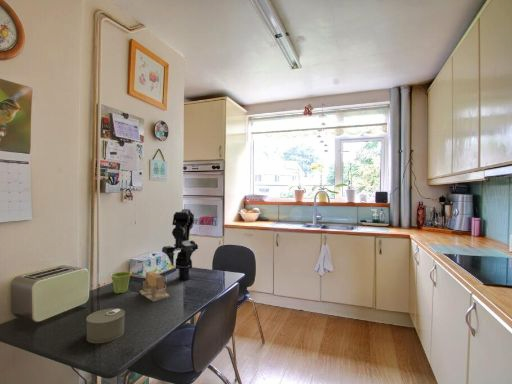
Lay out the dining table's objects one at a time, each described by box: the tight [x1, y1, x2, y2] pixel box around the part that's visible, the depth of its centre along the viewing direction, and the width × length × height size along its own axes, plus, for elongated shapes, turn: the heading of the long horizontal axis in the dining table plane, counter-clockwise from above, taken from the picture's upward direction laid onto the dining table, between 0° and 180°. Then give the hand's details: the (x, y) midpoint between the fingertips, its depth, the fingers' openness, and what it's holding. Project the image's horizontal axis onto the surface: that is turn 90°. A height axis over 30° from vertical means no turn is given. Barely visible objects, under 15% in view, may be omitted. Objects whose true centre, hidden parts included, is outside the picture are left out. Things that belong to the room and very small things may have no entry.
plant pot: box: [110, 271, 132, 294], centre depth 137 cm, size 9×9×9 cm
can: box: [85, 307, 126, 344], centre depth 96 cm, size 12×12×7 cm
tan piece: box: [139, 280, 170, 302], centre depth 133 cm, size 15×8×6 cm, turn 46°
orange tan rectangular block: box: [145, 270, 165, 290], centre depth 133 cm, size 13×3×6 cm, turn 46°
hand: (180, 263), depth 147 cm, fingers open, 9 cm apart
